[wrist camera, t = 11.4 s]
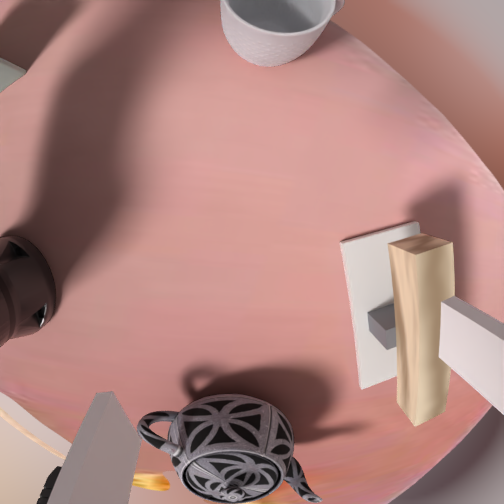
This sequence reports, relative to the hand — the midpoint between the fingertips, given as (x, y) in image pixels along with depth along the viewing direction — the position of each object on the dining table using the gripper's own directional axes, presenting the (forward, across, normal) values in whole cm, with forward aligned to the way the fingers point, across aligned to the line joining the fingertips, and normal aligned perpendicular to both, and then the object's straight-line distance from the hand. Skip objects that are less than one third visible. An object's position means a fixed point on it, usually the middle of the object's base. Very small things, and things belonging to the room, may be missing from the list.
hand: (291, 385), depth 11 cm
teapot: (+29, -8, -30) cm, 43 cm away
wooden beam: (+21, +18, -15) cm, 32 cm away
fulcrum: (+29, +19, -15) cm, 37 cm away
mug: (+30, +10, +25) cm, 40 cm away
